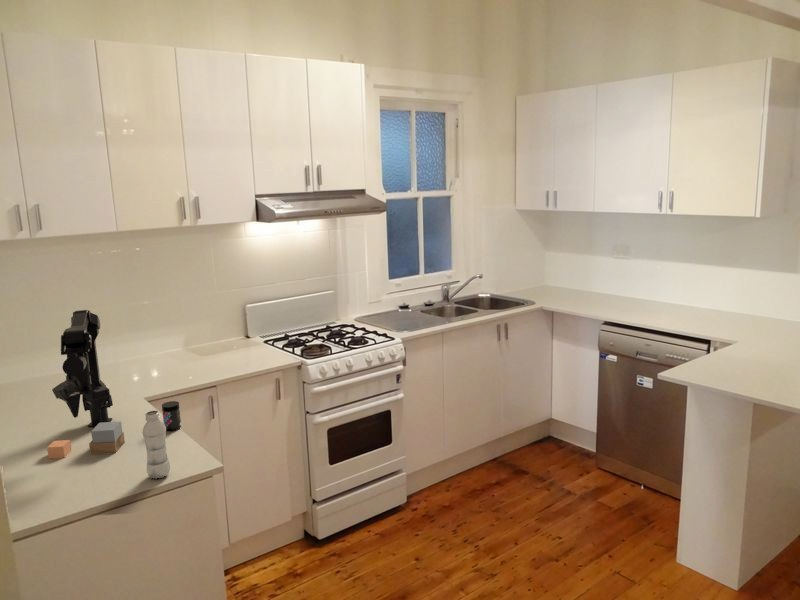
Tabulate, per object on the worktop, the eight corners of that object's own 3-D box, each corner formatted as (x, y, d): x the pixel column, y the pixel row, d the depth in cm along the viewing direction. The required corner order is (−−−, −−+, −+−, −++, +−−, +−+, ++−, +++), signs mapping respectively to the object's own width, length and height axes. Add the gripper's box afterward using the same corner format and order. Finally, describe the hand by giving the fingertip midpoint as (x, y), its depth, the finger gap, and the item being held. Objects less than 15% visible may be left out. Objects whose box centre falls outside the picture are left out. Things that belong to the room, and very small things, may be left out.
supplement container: (164, 426, 225) (161, 402, 223) (181, 424, 227) (179, 400, 225) (163, 432, 220) (160, 408, 218) (181, 430, 221) (178, 405, 219)
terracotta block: (55, 452, 207) (54, 440, 206) (71, 451, 207) (70, 439, 206) (48, 459, 202) (47, 447, 201) (65, 458, 202) (63, 446, 202)
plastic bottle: (142, 479, 186) (134, 416, 182) (158, 469, 193) (151, 407, 188) (160, 483, 184) (152, 418, 180) (175, 472, 190) (169, 409, 186)
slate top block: (100, 433, 211) (99, 422, 210) (122, 432, 211) (121, 421, 210) (92, 442, 204) (91, 431, 203) (115, 441, 204) (113, 430, 204)
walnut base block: (100, 444, 212) (99, 433, 211) (124, 443, 213) (123, 432, 212) (90, 455, 204) (89, 443, 203) (116, 453, 205) (114, 442, 204)
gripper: (35, 374, 195) (42, 423, 196) (75, 377, 186) (81, 428, 188) (69, 366, 205) (74, 413, 206) (108, 368, 196) (113, 418, 198)
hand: (85, 418), depth 199 cm, fingers open, 9 cm apart
